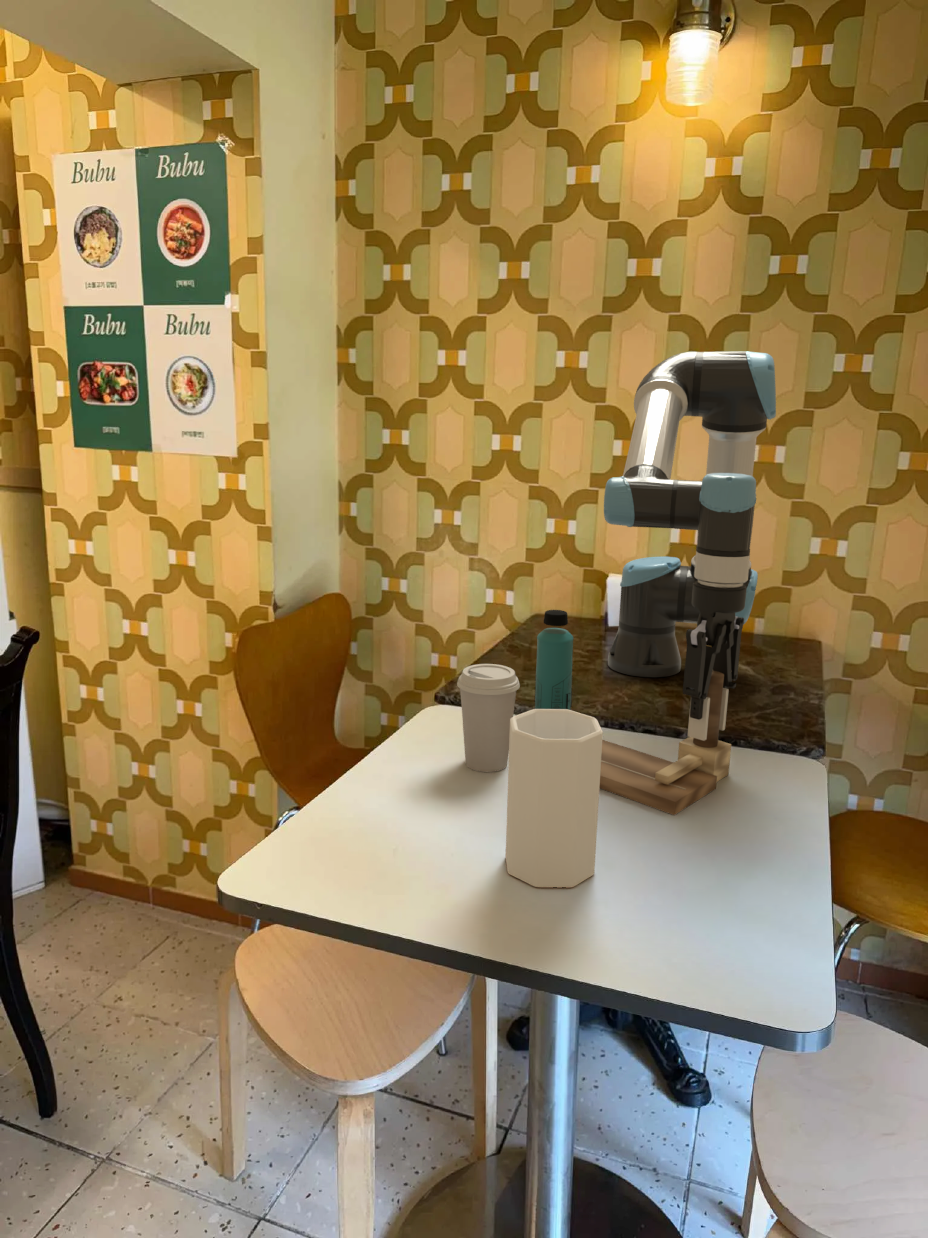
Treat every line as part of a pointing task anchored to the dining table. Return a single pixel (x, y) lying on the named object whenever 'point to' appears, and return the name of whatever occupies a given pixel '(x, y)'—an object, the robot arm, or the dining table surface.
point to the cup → (553, 797)
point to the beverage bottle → (554, 664)
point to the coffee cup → (487, 714)
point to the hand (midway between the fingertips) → (706, 732)
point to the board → (650, 779)
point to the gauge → (703, 744)
